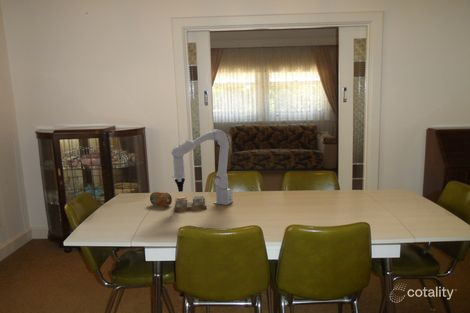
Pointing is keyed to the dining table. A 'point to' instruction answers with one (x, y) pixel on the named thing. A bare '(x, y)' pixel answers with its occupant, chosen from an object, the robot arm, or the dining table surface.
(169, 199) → the tin
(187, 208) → the press board
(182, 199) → the terracotta plunger
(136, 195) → the dining table surface
